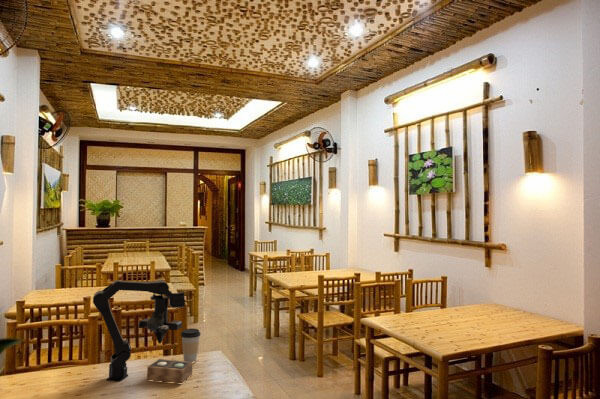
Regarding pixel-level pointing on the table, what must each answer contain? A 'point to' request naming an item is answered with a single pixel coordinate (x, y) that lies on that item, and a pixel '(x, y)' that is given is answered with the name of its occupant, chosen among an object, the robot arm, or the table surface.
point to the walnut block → (169, 371)
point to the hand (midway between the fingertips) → (159, 343)
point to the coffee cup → (190, 344)
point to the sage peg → (179, 365)
